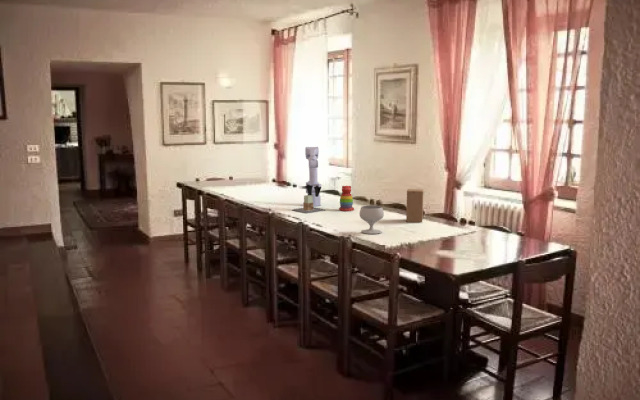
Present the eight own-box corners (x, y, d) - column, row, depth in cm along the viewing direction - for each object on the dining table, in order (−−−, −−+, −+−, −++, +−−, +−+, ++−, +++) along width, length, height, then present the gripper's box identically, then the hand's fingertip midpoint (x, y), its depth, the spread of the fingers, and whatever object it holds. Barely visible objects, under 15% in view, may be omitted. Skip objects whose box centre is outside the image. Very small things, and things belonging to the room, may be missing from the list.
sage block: (308, 201, 403) (308, 195, 402) (312, 202, 399) (312, 195, 399) (304, 202, 400) (303, 195, 399) (308, 203, 397) (308, 196, 396)
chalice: (362, 235, 318) (363, 209, 316) (356, 230, 332) (356, 205, 330) (386, 234, 321) (387, 208, 319) (379, 229, 335) (379, 204, 332)
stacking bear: (354, 209, 405) (354, 184, 402) (353, 211, 395) (353, 186, 392) (339, 209, 406) (339, 184, 403) (338, 211, 396) (338, 186, 393)
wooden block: (422, 222, 355) (423, 191, 352) (406, 222, 357) (406, 190, 354) (422, 219, 365) (423, 189, 361) (407, 219, 367) (407, 188, 363)
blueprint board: (310, 207, 412) (310, 206, 412) (325, 210, 401) (325, 209, 401) (291, 210, 400) (291, 209, 400) (306, 213, 389) (306, 212, 389)
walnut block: (308, 208, 404) (308, 201, 403) (313, 209, 400) (313, 202, 399) (303, 209, 401) (303, 202, 400) (307, 210, 397) (307, 203, 396)
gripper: (302, 176, 403) (302, 195, 405) (315, 178, 392) (315, 197, 394) (310, 175, 407) (310, 194, 410) (323, 177, 397) (323, 196, 399)
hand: (313, 196), depth 402 cm, fingers open, 7 cm apart
